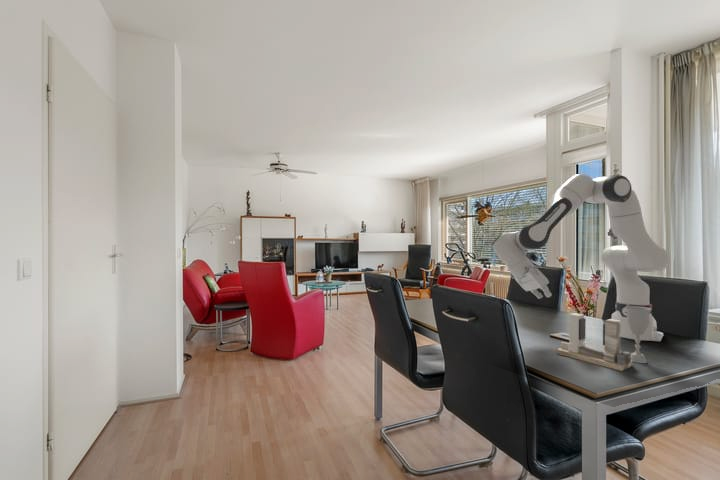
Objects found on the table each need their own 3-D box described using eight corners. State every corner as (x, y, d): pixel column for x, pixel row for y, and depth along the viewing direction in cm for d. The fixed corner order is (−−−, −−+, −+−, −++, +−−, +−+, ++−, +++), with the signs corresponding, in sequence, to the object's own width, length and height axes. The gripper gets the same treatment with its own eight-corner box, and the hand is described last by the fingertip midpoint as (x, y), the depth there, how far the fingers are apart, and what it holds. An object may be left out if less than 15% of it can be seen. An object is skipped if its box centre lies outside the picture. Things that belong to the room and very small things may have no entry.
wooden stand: (567, 349, 130) (567, 310, 130) (631, 366, 113) (632, 321, 113) (556, 353, 125) (556, 313, 125) (621, 371, 109) (622, 324, 109)
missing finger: (575, 348, 126) (576, 312, 126) (586, 350, 123) (587, 314, 123) (567, 350, 123) (568, 314, 123) (578, 353, 120) (579, 316, 120)
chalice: (619, 357, 122) (619, 305, 122) (637, 356, 123) (638, 305, 123) (637, 364, 115) (637, 309, 115) (656, 364, 115) (657, 309, 115)
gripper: (537, 260, 133) (562, 290, 129) (521, 267, 152) (542, 294, 149) (523, 269, 133) (548, 300, 129) (509, 276, 152) (530, 302, 149)
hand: (545, 297), depth 139 cm, fingers open, 8 cm apart
